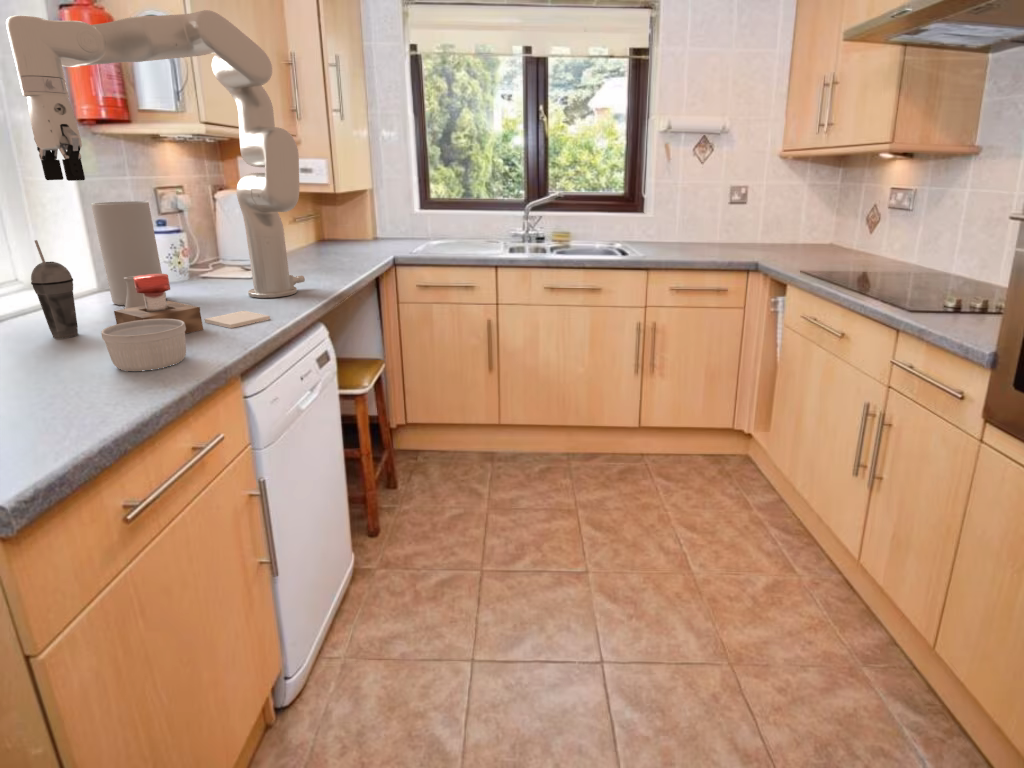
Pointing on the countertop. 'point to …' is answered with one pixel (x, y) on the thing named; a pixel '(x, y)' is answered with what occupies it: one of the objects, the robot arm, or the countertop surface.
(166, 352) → the ramekin
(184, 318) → the eye block
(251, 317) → the pad
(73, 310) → the beverage cup
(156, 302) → the spice jar
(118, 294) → the cylinder vase
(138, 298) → the flask
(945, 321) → the countertop surface
